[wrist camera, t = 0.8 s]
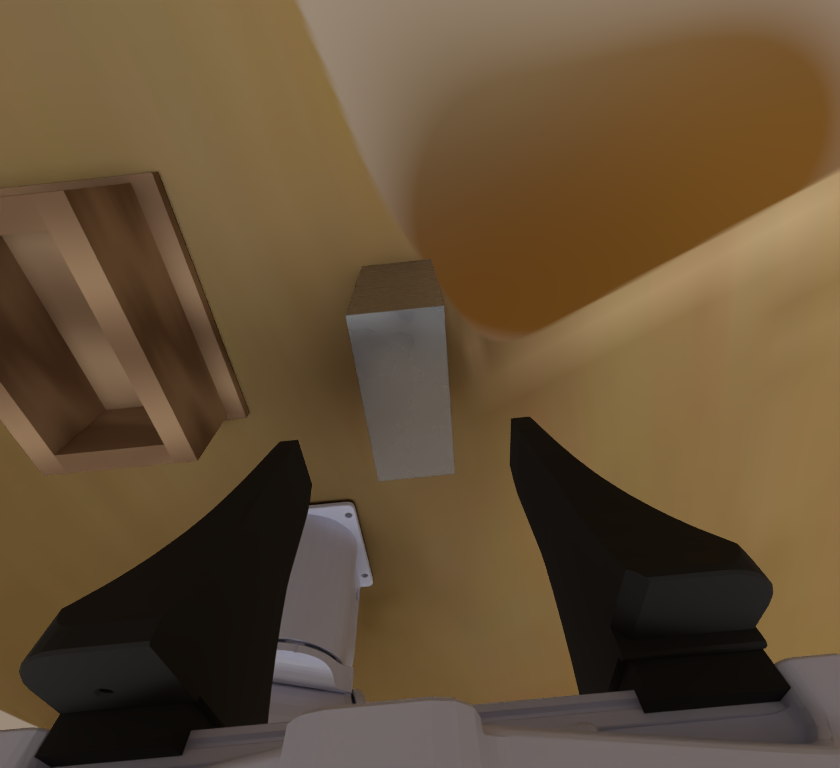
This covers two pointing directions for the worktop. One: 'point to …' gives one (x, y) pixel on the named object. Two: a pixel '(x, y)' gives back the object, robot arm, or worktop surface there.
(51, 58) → the worktop surface
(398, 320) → the silver metal block
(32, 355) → the brown rectangular frame
